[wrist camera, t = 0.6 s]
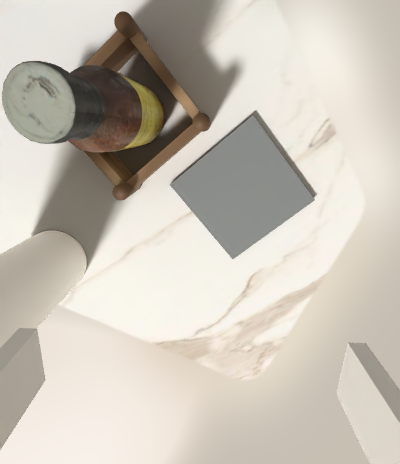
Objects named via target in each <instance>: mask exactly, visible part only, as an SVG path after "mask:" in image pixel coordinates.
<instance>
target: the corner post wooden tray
mask: <svg viewBox="0 0 400 464" xmlns="http://www.w3.org/2000/svg"><path fill="white" fill-rule="evenodd" d="M115 26H116V28H117V31H116V33H115V34H114V35H113V36H112V37H111V38H110V39H109V40H108V41H107V42H106V43H105V44H104V45H103V46H102V47H101V48H100V49H99V50H98V51H97V52H96V53H95V54H94V55H93V56H92V58H91V59H90V60H89V61H88V62H87V63H86V64H85V65H84V66H87V65H99V66H103V67H106V68H109V69H112V70H114V71H116V72H117V71H118V70H119V69H120V68H121V67H122V66H123V65H124V64H125V63H126V62H127V61H128V60H129V59H130V58H131V57H132V56H133V55H134V54H135V53H136V52H137V51H138V50H139V51H140V53H141V54H142V55H143V57H144V58H145V59H146V60H147V62H148V63H149V64H150V66H151V67H152V68H153V69H154V71H155V72H156V73H157V75H158V76H159V77H160V78H161V80H162V81H163V82H164V83H165V85H166V86H167V87H168V89H169V90H170V91H171V92H172V94H173V95H174V96H175V98H176V99H177V100H178V101H179V103H180V104H181V105H182V107H183V108H184V109H185V110H186V112H187V113H188V114H189V116H190V117H191V118H192V119H193V124H192V125H190V126H189V127H188V128H187V129H186V130H185V131H184V132H182V133H181V134H180V135H179V136H178V137H177V138H176V139H175V140H173V141H172V142H171V143H170V144H169V145H168V146H167V147H165V148H164V149H163V150H162V151H161V152H160V153H159V154H157V155H156V156H155V157H154V158H153V159H152V160H151V161H149V162H148V163H147V164H146V165H145V166H144V167H143V168H142V169H140V170H139V171H138V172H137V173H136V174H135V175H133V174H132V173H131V172H130V171H129V170H128V168H127V167H126V166H125V165H124V164H123V163H122V162H121V160H120V159H119V158H118V157H117V156H116V155H115V154H114V152H113V151H112V152H89V151H86V150H83V151H84V152H85V153H86V154H87V155H88V156H89V157H90V158H91V159H92V161H93V162H94V163H95V164H96V165H97V166H98V167H99V168H100V170H101V171H102V172H103V173H104V174H105V175H106V176H107V177H108V179H109V180H110V181H111V182H112V183H113V184H114V185H115V187H114V188H113V195H114V197H115V198H116V199H118V200H125V199H126V198H127V197H129V196H130V195H131V194H133V193H134V192H136V191H137V190H138V189H140V187H141V185H142V183H143V182H144V181H145V180H146V179H147V178H148V177H149V176H151V175H152V174H153V173H154V172H155V171H156V170H158V169H159V168H160V167H161V166H162V165H163V164H164V163H166V162H167V161H168V160H169V159H170V158H171V157H173V156H174V155H175V154H176V153H177V152H178V151H180V150H181V149H182V148H183V147H184V146H185V145H186V144H188V143H189V142H190V141H191V140H192V139H193V138H195V137H196V136H197V135H198V134H199V133H200V132H202V131H207V130H208V129H209V127H210V120H209V117H208V116H207V115H206V114H204V113H201V112H200V111H199V110H198V109H197V107H196V106H195V105H194V103H193V102H192V101H191V100H190V98H189V97H188V96H187V94H186V93H185V92H184V90H183V89H182V88H181V87H180V85H179V84H178V83H177V81H176V80H175V79H174V77H173V76H172V75H171V74H170V72H169V71H168V70H167V68H166V67H165V66H164V64H163V63H162V62H161V61H160V59H159V58H158V57H157V55H156V54H155V53H154V51H153V50H152V49H151V48H150V46H149V45H148V44H147V39H146V37H145V35H144V34H143V32H142V31H141V30H140V28H139V27H138V25H137V24H136V23H135V21H134V20H133V18H132V17H131V15H130V14H129V13H127V12H119V13H118V14H117V15H116V17H115Z"/></svg>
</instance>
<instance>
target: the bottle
mask: <svg viewBox="0 0 400 464" xmlns="http://www.w3.org/2000/svg"><path fill="white" fill-rule="evenodd" d="M86 267H87V260H86V255H85V252H84V250H83V248H82V247H81V245H80V244H79V243H78V242H77V241H76V240H75V239H74V238H73V237H71V236H70V235H68V234H66V233H63V232H60V231H55V230H48V231H43V232H40V233H38V234H36V235H34V236H32V237H30V238H29V239H27V240H25V241H23V242H22V243H20V244H18V245H16V246H15V247H13V248H11V249H9V250H8V251H6V252H4V253H2V254H1V255H0V348H1V347H2V346H3V345H4V344H5V342H6V341H7V340H8V339H9V338H10V337H11V336H12V335H13V334H14V333H15V332H16V331H17V330H18V329H19V328H33V329H36V328H37V327H38V326H39V325H40V324H41V323H42V322H43V320H45V318H46V317H47V316H48V315H49V314H50V313H51V312H52V311H53V310H54V308H55V307H56V306H57V305H58V304H59V303H60V302H61V301H62V300H63V299H64V298H65V296H66V295H67V294H68V293H69V292H70V291H71V290H72V289H73V288H74V287H75V285H76V284H77V283H78V282H79V281H80V280H81V279H82V277H83V275H84V273H85V271H86Z"/></svg>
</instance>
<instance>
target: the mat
mask: <svg viewBox="0 0 400 464" xmlns="http://www.w3.org/2000/svg"><path fill="white" fill-rule="evenodd" d="M170 186H171V187H172V188H173V189H174V190H175V191H176V193H177V194H178V195H179V196H180V197H181V199H182V200H183V201H184V202H185V203H186V204H187V206H188V207H189V208H190V209H191V210H192V212H193V213H194V214H195V215H196V216H197V217H198V219H199V220H200V221H201V222H202V223H203V225H204V226H205V227H206V228H207V229H208V231H209V232H210V233H211V234H212V235H213V236H214V238H215V239H216V240H217V241H218V242H219V244H220V245H221V246H222V247H223V248H224V249H225V251H226V252H227V253H228V254H229V255H230V257H231V258H232V259H234V258H235V257H237V256H238V255H240V254H241V253H242V252H244V251H245V250H246V249H248V248H249V247H251V246H252V245H253V244H255V243H256V242H257V241H259V240H260V239H262V238H263V237H264V236H266V235H267V234H269V233H270V232H271V231H273V230H274V229H275V228H277V227H278V226H280V225H281V224H282V223H284V222H285V221H287V220H288V219H289V218H291V217H292V216H293V215H295V214H296V213H298V212H299V211H300V210H302V209H303V208H304V207H306V206H307V205H309V204H310V203H311V202H313V201H314V200H315V199H314V198H313V197H312V195H311V194H310V192H309V191H308V190H307V188H306V187H305V186H304V184H303V183H302V181H301V180H300V179H299V177H298V176H297V175H296V173H295V172H294V170H293V169H292V168H291V166H290V165H289V164H288V162H287V161H286V159H285V158H284V157H283V155H282V154H281V153H280V151H279V150H278V148H277V147H276V146H275V144H274V143H273V142H272V140H271V139H270V137H269V136H268V135H267V133H266V132H265V131H264V129H263V128H262V126H261V125H260V124H259V122H258V121H257V120H256V118H255V117H254V116H253V115H252V116H251V117H250V118H249V119H247V120H246V121H245V122H244V123H243V124H241V125H240V126H239V127H238V128H237V129H235V130H234V131H233V132H232V133H231V134H230V135H228V136H227V137H226V138H225V139H224V140H222V141H221V142H220V143H219V144H218V145H216V146H215V147H214V148H213V149H212V150H210V151H209V152H208V153H207V154H206V155H205V156H203V157H202V158H201V159H200V160H199V161H197V162H196V163H195V164H194V165H193V166H191V167H190V168H189V169H188V170H187V171H185V172H184V173H183V174H182V175H181V176H180V177H178V178H177V179H176V180H175V181H174V182H172V183H171V184H170Z"/></svg>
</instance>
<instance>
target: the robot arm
mask: <svg viewBox="0 0 400 464" xmlns="http://www.w3.org/2000/svg"><path fill="white" fill-rule="evenodd" d="M44 381H45V375H44V369H43V363H42V356H41V350H40V344H39V338H38V332H37V329H33V328H19V329H18V330H17V331H16V332H15V333H14V334H13V335H12V336H11V337H10V338H9V339H8V340H7V341H6V342H5V344H4V345H3V346H2V347H1V348H0V450H1V448H2V446H3V445H4V443H5V442H6V440H7V439H8V437H9V435H10V434H11V432H12V431H13V429H14V428H15V426H16V425H17V423H18V422H19V420H20V419H21V417H22V415H23V414H24V412H25V411H26V409H27V408H28V406H29V404H30V403H31V401H32V400H33V398H34V397H35V395H36V394H37V392H38V391H39V389H40V388H41V386H42V384H43V383H44ZM336 394H337V396H338V399H339V401H340V403H341V405H342V407H343V409H344V411H345V413H346V415H347V417H348V420H349V422H350V424H351V426H352V428H353V430H354V432H355V434H356V436H357V439H358V441H359V442H360V445H361V447H362V449H363V451H364V453H365V455H366V457H367V459H368V462H369V464H400V390H399V388H398V387H397V385H396V384H395V383H394V381H393V380H392V379H391V377H390V376H389V374H388V373H387V372H386V370H385V369H384V367H383V366H382V365H381V363H380V362H379V361H378V359H377V358H376V357H375V355H374V354H373V352H372V351H371V350H370V348H369V347H368V345H367V344H366V343H347V348H346V352H345V356H344V361H343V365H342V370H341V375H340V379H339V383H338V388H337V393H336Z"/></svg>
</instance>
